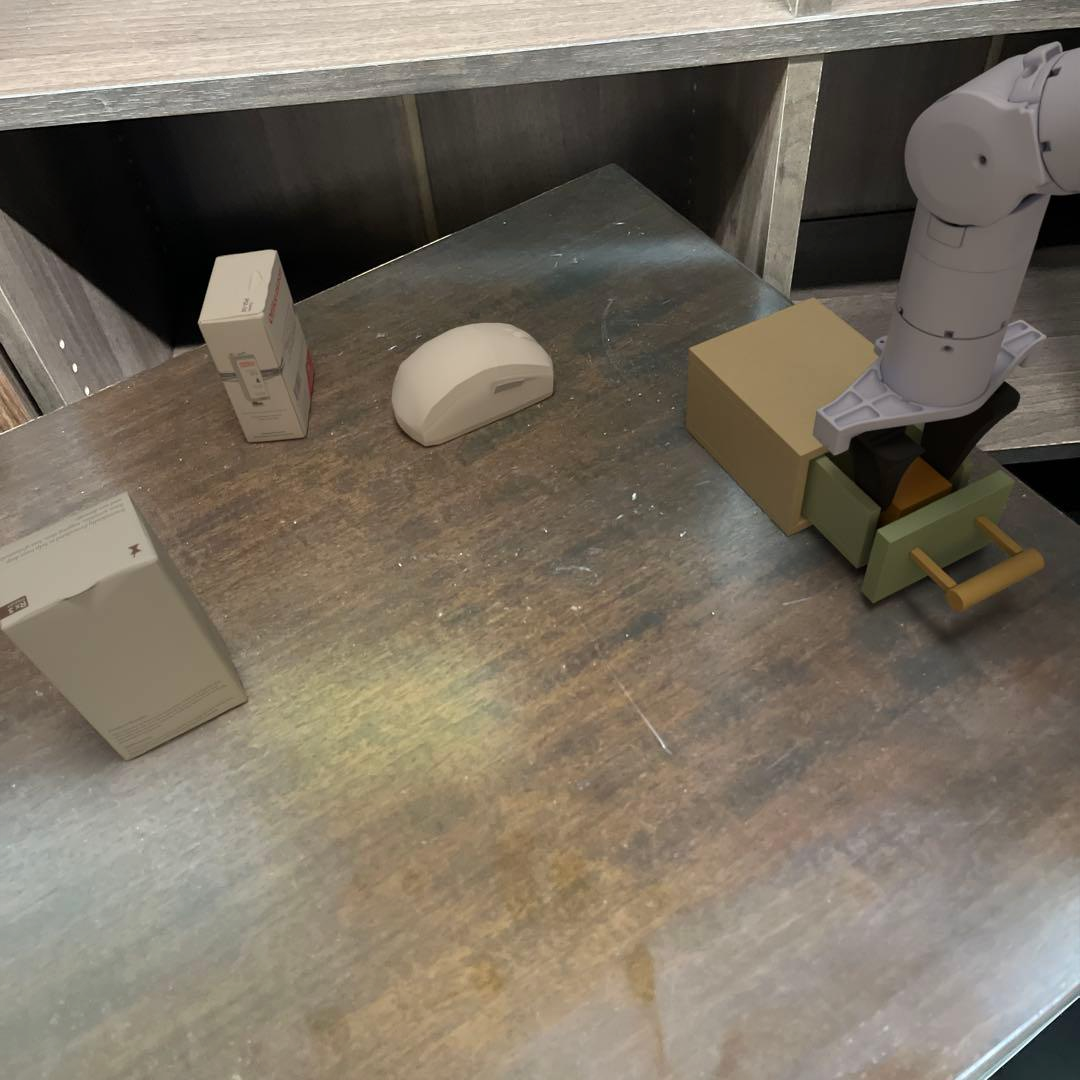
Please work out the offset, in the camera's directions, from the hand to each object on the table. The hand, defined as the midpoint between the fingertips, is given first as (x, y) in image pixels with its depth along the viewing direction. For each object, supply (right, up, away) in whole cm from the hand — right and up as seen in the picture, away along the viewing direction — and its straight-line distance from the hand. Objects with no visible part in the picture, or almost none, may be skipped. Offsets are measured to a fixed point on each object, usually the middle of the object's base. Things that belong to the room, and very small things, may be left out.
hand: (902, 487), depth 62 cm
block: (0, -2, +2) cm, 3 cm away
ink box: (-43, +7, +18) cm, 48 cm away
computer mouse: (-28, +8, +17) cm, 33 cm away
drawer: (+1, -3, +3) cm, 4 cm away
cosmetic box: (-45, -14, 0) cm, 47 cm away
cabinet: (-4, +3, +10) cm, 11 cm away
